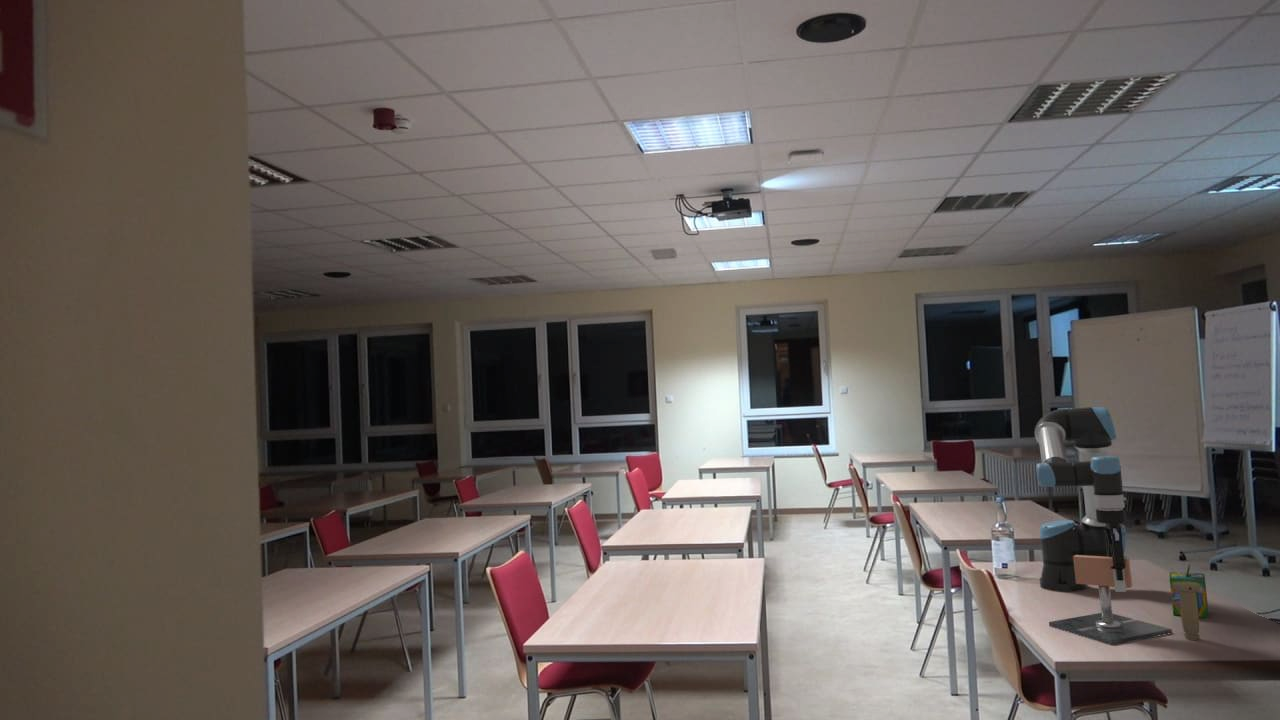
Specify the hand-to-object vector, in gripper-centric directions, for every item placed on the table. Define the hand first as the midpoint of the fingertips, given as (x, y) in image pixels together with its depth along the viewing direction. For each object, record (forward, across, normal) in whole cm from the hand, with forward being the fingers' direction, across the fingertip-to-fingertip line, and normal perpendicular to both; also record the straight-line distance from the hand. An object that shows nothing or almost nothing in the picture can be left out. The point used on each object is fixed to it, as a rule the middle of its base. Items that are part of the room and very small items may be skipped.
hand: (1118, 589), depth 226 cm
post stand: (+12, +1, +4) cm, 13 cm away
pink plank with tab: (-1, +1, +4) cm, 4 cm away
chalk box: (+12, +22, -22) cm, 33 cm away
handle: (+12, -5, -16) cm, 21 cm away
